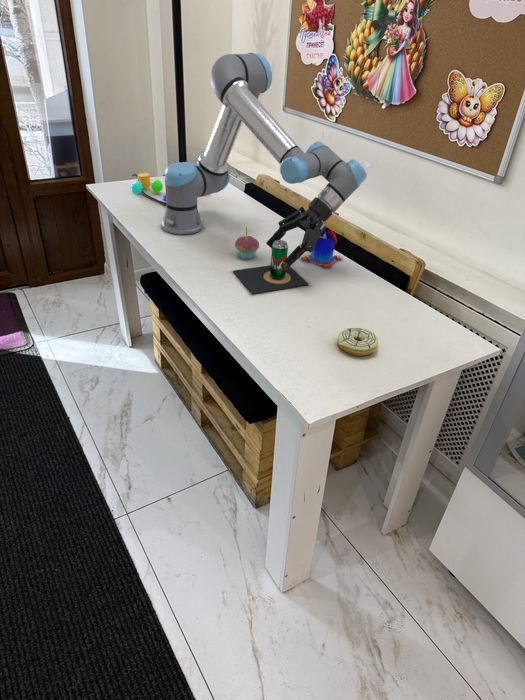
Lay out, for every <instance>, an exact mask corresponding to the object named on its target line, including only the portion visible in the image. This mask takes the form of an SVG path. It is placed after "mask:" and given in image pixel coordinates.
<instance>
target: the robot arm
mask: <svg viewBox="0 0 525 700" xmlns="http://www.w3.org/2000/svg"><path fill="white" fill-rule="evenodd" d="M272 82H273V71H272V66H271V64H270V62H269V60H268V59H267V58H266V57H265V56H264V55H262V54H261V53H254V52H247V53H227V54H224V55H221V56H220V57H218V58H217V59H216V60H215V62H214V63H213V65H212V68H211V69H210V84H211V89H212V90H213V93H214V94H215V96H216V97H217V99H218V100H219V102H221V104H222V105H221V107H220V108H221V109H220V112H219V114H218V117H217V120H216V122H215V124H214V128H213V131H212V133H211V136H210V138H209V141H208V144H207V147H206V149H205V151H203V152H201V153H200V154H199V156H198V159H197V162H196V163H193V162H189V161H182V162H180V161H179V162H175V163H172V164H170V165H168V166H167V167H166V168H165V171H164V187H165V189H164V190H165V195H166V202H165V201H163V200H159V199H157V198H155V197H153V196H150V195H149V194H147V193H146V192H144V191H143V190H142V192H141V193H140V194H142V195H144V196H145V197H147V198H148V199H151V200H152V201H155V202H157V203H160V204H162V205H164V206H165V210H164V211H165V212H164V215H163V218H162V222H161V225H162V229H163V231H165V232H166V233H169V234H172V235H177V236H179V235H180V236H187V235H194V234H196V233H199V232H200V231H202V229H203V221H202V217H201V215H200V212H199V208H198V198H202V197H205V196H208V195H213V194H217V193H220V192H222V191H223V190H224V189H226V188H227V187H228V184H229V183H230V179H231V174H230V171H231V170H230V167H229V163H228V160H229V158H230V155H231V152H232V150H233V148H234V146H235V143H236V141H237V138H238V136H239V134H240V131H241V128H242V127H243V124H244V125H245V126H246V127H247V129H248V130H249V131H250V132H251V133H252V135H254V136H255V138H256V139H257V140H258V141H259V142H260V144H261V145H262V146H263V147H264V148H265V149H266V151H267V152H268V153H269V154H270V155H271V156H272V157H273V158H274V160H275V161H276V162H277V163H278V164H279V165H280V166H279V172H280V175H281V178H282V180H283V181H284V182H286V183H287V184H290V185H292V184H293V185H294V184H301V183H303V182H305V181H307V180H310V179H314V178H318V177H321V176H322V177H323V178H324V180H326V181H327V182H328V183H327V184H326V186H324V188H323V189H321V190H320V192H318V194H317V196H315V197H314V198H313V199H312V200H311V201H310V202H309V203H308V209H307V210H306V209H305V207H304V206H300V207H299V208H298V209H297V210H295V211H294V212H293V213H291V214H289V215H288V216H285V218H283V219H281V220H280V221H278V223H277V225H278V226H279V227H278V229H276V231H275V232H274V233H273V235H272V236H271V237H270V238H269V239H268V240H267V241H266V242H265V244H266V245H267V246H268V247H269V248H270V249H272V245H273V243H274V241H276V240H282V239H283V238H284V237H285V235H286V234H287V232H288V231H292V230H294V229H296V228H300V227H303V228H304V229H305V231H304V234H303V237H302V242H301V243H300V244H299V245H298V246H296V247H295V249H294V250H293V251H292V252H291V253H290V254H289V255H287V258H286V259H285V260H284V261H285V262H286V263H287V264H288V265H289V266H290V267H292V265H293V264H294V263H295V262H296V261H297V260H299V259H300V258H302V256H303V255H304V254H305V253H312V251H313V249H314V247H315V245H316V243H317V241H318V239H319V237H320V235H321V233H322V232H323V230H324V229H325V228H326V229H327V226H326V224H325V222H326V221H327V220H329V218H331V216H332V215H333V213H335V212H336V211H337V210H339V208H340V207H341V206H342V205H343V204H344V202H345V201H347V200H348V198H349V197H351V195H352V194H353V193H354V192H356V190H357V189H359V188H360V186H361V185H362V184H363V182H364V181H365V180H366V179H367V177H368V176H367V175H368V173H367V171H366V169H365V168H364V167H363V165H362V164H360V163H359V161H357V160H356V159H349V161H347V162H346V161H344V160H343V159H342V158H341V157H340V156H339V155H338V154H336V152H335V151H333V150H332V148H330V146H328V145H327V144H325V143H323V142H322V141H321V140H320V141H315V142H313V144H311V145H310V146H308V148H307V149H306V151H305V152H304V150H302V149H301V147H300V146H299V145H298V144H297V143H296V142H295V141H294V139H292V137H291V136H290V135H289V133H288V132H286V130H285V129H284V128H283V127H282V126H281V125H280V124H279V122H277V120H276V119H275V118H274V116H272V114H271V113H270V112H269V111H268V109H266V107H265V106H264V105H263V104H262V103H261V102H260V101H259V98H260V95H261V94H264V93H267V91H268V90H270V87H271V85H272ZM131 177H136V178H137V179H138V174H136V173H132V174H131Z"/></svg>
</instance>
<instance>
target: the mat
mask: <svg viewBox="0 0 525 700" xmlns="http://www.w3.org/2000/svg"><path fill="white" fill-rule="evenodd" d="M270 266H271V264H270V265H263V266H256V267H250V268H242V269H234V270H232V272H233V274H234V275H235V277H236V278H237V279H238V280H239V281H240V282H241V284H242V285H243V286H244V287H245V289H246V290H247V291H248V292H249V293H250V294H251V295H253V296H254V295H258V294H260V295H261V294H265V293H271V292H277V291H283V290H290V289H295V288H302V287H309V283H308V282H307V281H306V280H305V279H304V278H303V277H302V276H301V275H300V274H299V273H298V272H297V271H296V270H295V269H294V268H292V266H289V265H288V264H287V263H286V273H285V277H284V278H283V279H280V280H276V279H273V278H272V277H271V276H270Z"/></svg>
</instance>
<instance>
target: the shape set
mask: <svg viewBox="0 0 525 700" xmlns="http://www.w3.org/2000/svg"><path fill="white" fill-rule="evenodd" d="M137 175H138V178H137V180H138V181H134V182H133V183H131V185H130V190H131V191H132V193H134V194H135V195H138V194H142V193H141V192H142V191H143V189H148V188H151V190H152V192H154V193H160V192H162V191H163V189H164V185H163V182H162V181H161V180H157V179H154V180H153V181H152V182H151V176H150V173H148V172H141V173H138V174H137ZM161 199H162V200H161V201H162V202H165V203H166V194H165V195H163V196H162V198H161Z"/></svg>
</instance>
